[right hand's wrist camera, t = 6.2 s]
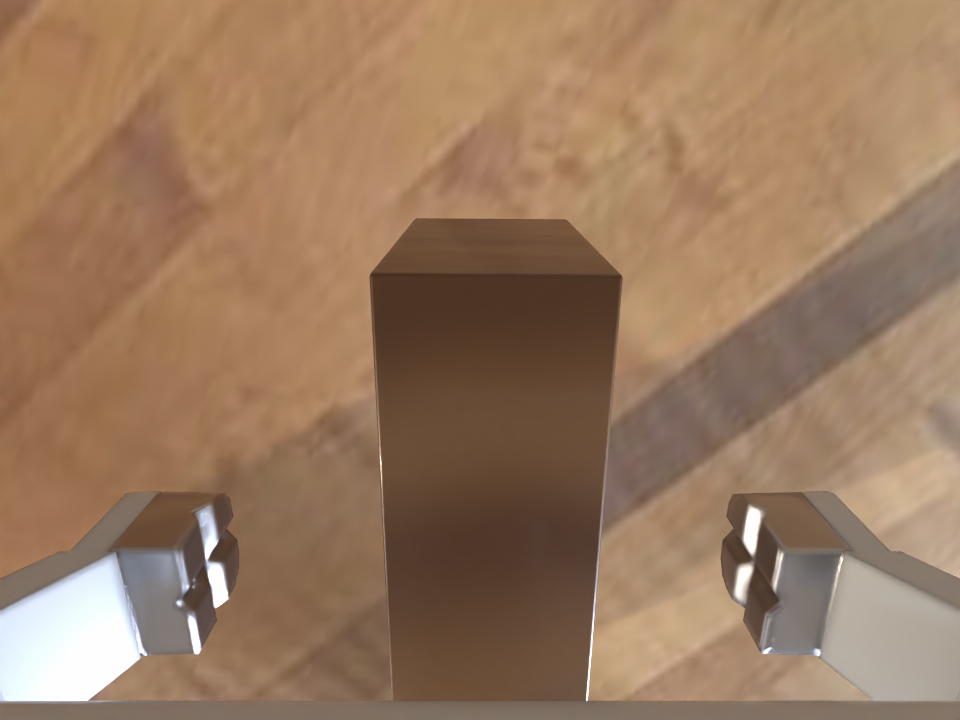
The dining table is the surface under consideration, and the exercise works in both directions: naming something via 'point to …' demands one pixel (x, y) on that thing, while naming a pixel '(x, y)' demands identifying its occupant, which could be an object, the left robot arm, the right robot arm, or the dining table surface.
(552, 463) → the bar
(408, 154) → the dining table surface
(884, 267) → the dining table surface
